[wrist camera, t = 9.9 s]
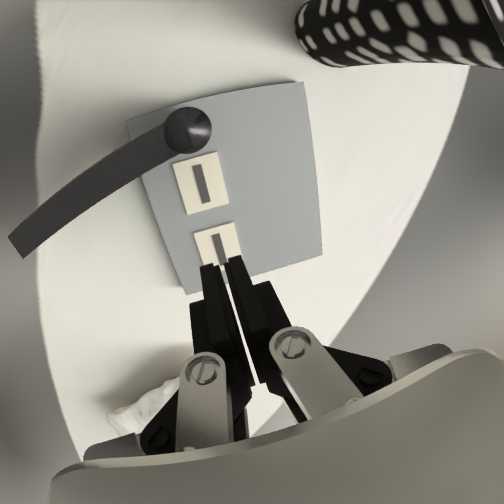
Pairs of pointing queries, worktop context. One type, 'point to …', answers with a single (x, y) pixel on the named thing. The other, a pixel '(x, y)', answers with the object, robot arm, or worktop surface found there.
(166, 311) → the worktop surface
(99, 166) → the swing arm
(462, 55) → the white-spotted black cylinder
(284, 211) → the label panel
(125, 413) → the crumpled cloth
